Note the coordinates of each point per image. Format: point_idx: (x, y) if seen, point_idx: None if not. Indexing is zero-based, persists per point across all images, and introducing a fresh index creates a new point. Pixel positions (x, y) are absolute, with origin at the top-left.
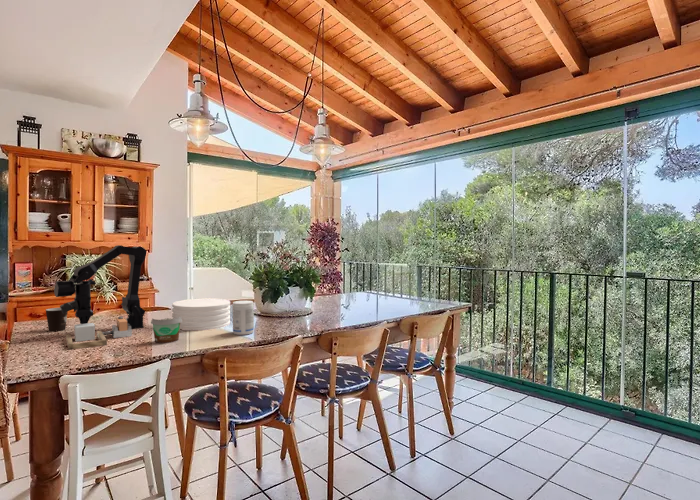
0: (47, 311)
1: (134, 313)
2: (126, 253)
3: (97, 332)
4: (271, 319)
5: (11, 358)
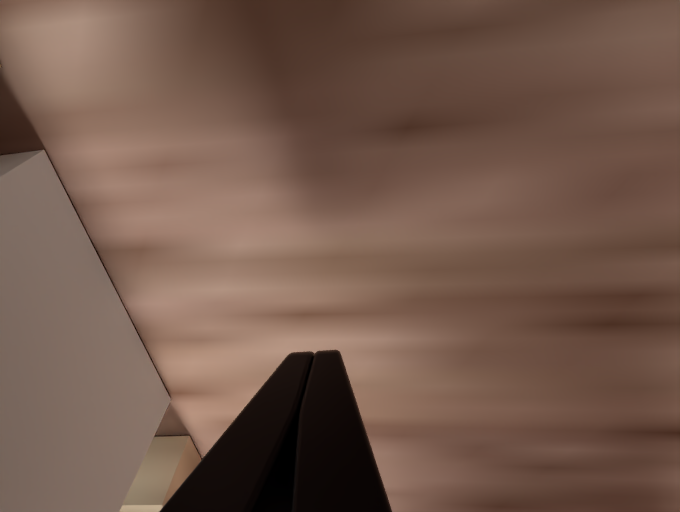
0: None
1: None
2: None
3: (138, 492)
4: None
5: None
